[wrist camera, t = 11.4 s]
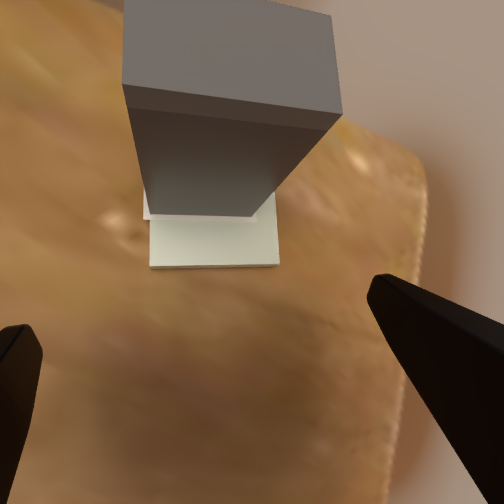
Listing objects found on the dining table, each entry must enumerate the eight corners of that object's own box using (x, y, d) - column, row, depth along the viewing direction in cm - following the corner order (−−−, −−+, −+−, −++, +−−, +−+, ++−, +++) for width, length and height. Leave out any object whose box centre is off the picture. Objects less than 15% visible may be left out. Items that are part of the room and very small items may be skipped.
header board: (273, 266, 23) (294, 258, 19) (144, 269, 20) (138, 260, 16) (264, 137, 25) (281, 105, 21) (146, 124, 22) (141, 86, 18)
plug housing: (251, 216, 21) (342, 114, 10) (150, 214, 20) (121, 83, 8) (248, 165, 22) (331, 15, 11) (150, 158, 20) (124, -34, 9)
